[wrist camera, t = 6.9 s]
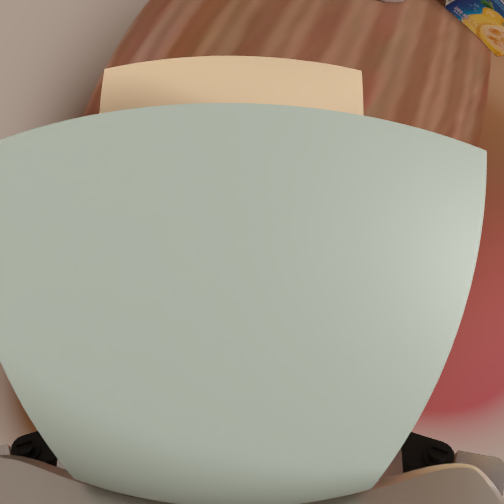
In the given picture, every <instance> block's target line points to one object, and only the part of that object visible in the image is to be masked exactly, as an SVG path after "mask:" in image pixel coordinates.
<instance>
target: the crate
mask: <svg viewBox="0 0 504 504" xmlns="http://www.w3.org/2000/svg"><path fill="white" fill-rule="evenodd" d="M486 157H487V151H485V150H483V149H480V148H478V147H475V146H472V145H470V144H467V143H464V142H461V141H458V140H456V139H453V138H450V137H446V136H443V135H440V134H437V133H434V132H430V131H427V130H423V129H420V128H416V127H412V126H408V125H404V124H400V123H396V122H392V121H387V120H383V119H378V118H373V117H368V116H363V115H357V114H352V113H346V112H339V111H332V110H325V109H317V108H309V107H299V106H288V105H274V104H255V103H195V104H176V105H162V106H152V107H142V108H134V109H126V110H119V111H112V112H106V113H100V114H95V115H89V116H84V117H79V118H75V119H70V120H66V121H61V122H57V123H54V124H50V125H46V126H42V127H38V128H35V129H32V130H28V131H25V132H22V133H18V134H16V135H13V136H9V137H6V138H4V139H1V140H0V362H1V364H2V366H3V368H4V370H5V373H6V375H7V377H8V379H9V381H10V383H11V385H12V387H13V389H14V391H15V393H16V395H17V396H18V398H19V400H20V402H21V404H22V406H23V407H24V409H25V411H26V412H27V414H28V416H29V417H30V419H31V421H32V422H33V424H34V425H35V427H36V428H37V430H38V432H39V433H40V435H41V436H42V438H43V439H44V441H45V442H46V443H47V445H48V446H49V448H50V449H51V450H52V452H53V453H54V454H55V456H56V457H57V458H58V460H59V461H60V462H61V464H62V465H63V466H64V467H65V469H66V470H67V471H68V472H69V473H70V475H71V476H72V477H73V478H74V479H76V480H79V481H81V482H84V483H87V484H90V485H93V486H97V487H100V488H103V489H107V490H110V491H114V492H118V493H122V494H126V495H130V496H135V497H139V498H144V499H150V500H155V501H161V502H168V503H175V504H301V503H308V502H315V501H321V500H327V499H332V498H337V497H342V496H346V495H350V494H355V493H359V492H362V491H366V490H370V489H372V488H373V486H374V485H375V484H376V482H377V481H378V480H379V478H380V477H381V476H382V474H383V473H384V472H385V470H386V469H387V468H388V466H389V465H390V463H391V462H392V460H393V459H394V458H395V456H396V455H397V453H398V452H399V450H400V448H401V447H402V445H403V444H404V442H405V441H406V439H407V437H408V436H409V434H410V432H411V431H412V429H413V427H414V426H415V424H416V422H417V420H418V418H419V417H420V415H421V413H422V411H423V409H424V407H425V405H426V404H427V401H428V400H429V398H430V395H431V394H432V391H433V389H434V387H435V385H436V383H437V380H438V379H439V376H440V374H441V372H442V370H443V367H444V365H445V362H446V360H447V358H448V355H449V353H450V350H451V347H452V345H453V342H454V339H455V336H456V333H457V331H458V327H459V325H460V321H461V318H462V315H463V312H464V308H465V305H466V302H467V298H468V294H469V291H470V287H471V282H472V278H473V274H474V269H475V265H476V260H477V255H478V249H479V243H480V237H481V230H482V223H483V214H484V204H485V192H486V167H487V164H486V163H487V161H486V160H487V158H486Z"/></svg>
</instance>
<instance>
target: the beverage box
mask: <svg viewBox="0 0 504 504" xmlns="http://www.w3.org/2000/svg"><path fill="white" fill-rule="evenodd" d="M445 8H446V9H447V10H448V11H450V12H451V13H452V14H453V15H454V16H455V17H457V18H458V19H459V20H460V21H461V22H462V23H463V24H465V25H466V26H467V27H468V28H469V29H470V30H471V31H472V32H473V33H474V34H475V35H476V36H477V37H478V38H479V39H480V40H481V41H482V42H483V43H484V44H485V45H486V46H487V47H488V48H489V49H490V50H491V51H492V52H493V53H494V55H495V56H496V57H500V56H503V55H504V0H446V4H445Z"/></svg>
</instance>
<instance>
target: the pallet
mask: <svg viewBox="0 0 504 504" xmlns="http://www.w3.org/2000/svg"><path fill="white" fill-rule="evenodd" d="M195 103H255V104H274V105H288V106H299V107H309V108H317V109H325V110H332V111H339V112H346V113H352V114H357V115H363V88H362V71H360V70H356V69H351V68H346V67H341V66H336V65H330V64H324V63H317V62H310V61H303V60H294V59H284V58H272V57H255V56H202V57H185V58H173V59H163V60H155V61H147V62H140V63H134V64H128V65H123V66H117V67H112V68H107V69H105V70H104V77H103V84H102V92H101V101H100V112H99V114H100V113H106V112H112V111H119V110H126V109H134V108H142V107H152V106H162V105H176V104H195Z"/></svg>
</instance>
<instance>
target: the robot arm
mask: <svg viewBox="0 0 504 504" xmlns="http://www.w3.org/2000/svg"><path fill="white" fill-rule="evenodd" d="M381 1H385V2H393V3H395V2H403V1H406V0H381ZM503 489H504V463H503V461H502V460H501V459H499V458H497V457H492V456H486V455H480V454H474V453H469V452H464V451H459V450H458V451H457V453H454V451H453V450H452V448H451V447H450V446H449V445H448V444H446V443H444V442H442V441H438V440H435V439H432V438H428V437H425V436H422V435H419V434H415V433H413V432H410V434H409V436H408V437H407V439H406V441H405V442H404V444H403V445H402V447H401V448H400V450H399V452H398V453H397V455H396V456H395V458H394V459H393V460H392V462H391V463H390V465H389V466H388V468H387V469H386V470H385V472H384V473H383V474H382V476H381V477H380V478H379V480H378V481H377V482H376V484H375V485H374V486H373V488H372V489H370V490H366V491H362V492H359V493H355V494H350V495H346V496H342V497H337V498H332V499H327V500H321V501H315V502H308V503H301V504H504V498H503V497H502V495H503ZM0 504H175V503H168V502H161V501H155V500H150V499H144V498H139V497H135V496H130V495H126V494H122V493H118V492H114V491H110V490H107V489H103V488H100V487H97V486H93V485H90V484H87V483H84V482H81V481H79V480H76V479H74V478H73V477H72V476H71V475H70V473H69V472H68V471H67V470H66V469H65V467H64V466H63V465H62V464H61V462H60V461H59V460H58V458H57V457H56V456H55V454H54V453H53V452H52V450H51V449H50V448H49V446H48V445H47V443H46V442H45V441H44V439H43V438H42V436H41V435H40V433H39V432H38V431H36V432H33V433H30V434H26V435H23V436H21V437H19V438H17V439H16V440H15V441H14V443H13V444H12V447H10V446H9V445H8V444H7V445H2V446H0Z"/></svg>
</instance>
